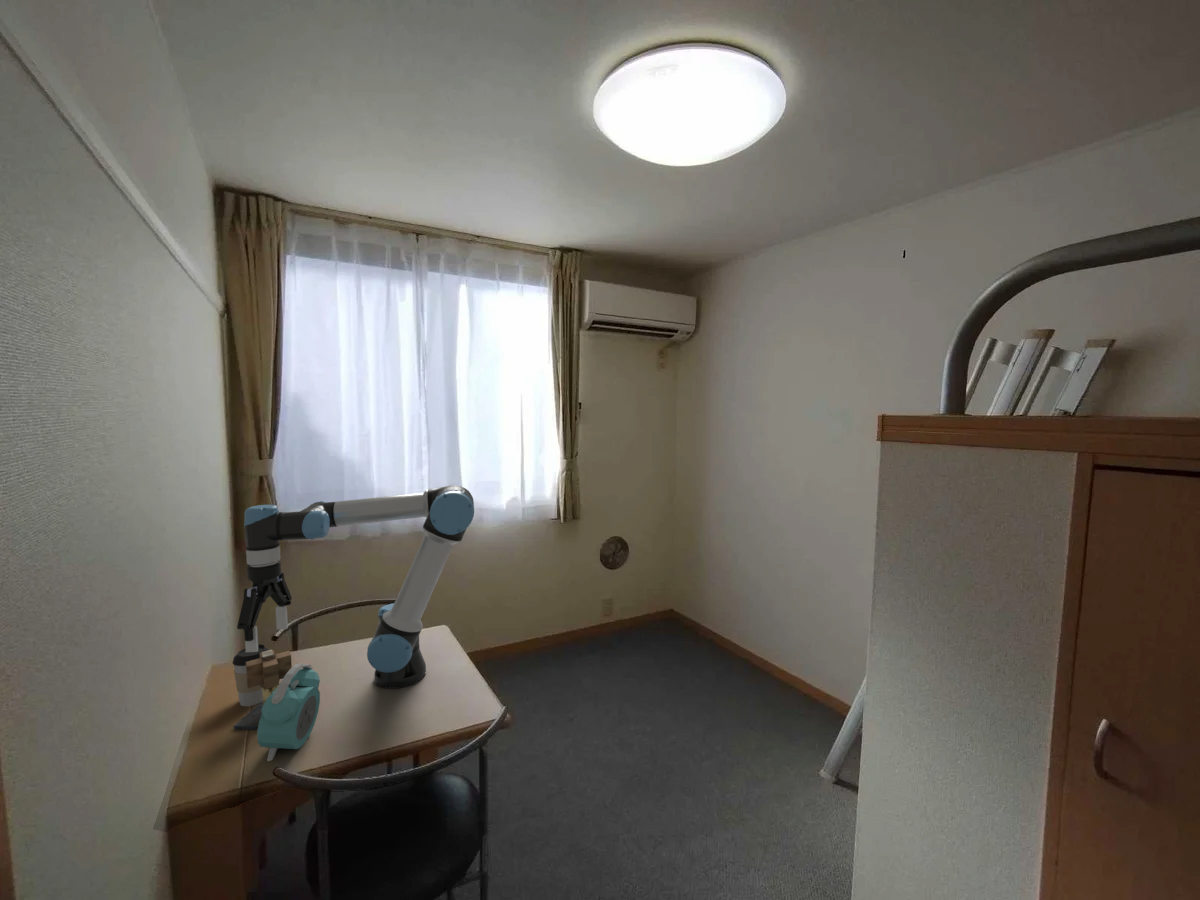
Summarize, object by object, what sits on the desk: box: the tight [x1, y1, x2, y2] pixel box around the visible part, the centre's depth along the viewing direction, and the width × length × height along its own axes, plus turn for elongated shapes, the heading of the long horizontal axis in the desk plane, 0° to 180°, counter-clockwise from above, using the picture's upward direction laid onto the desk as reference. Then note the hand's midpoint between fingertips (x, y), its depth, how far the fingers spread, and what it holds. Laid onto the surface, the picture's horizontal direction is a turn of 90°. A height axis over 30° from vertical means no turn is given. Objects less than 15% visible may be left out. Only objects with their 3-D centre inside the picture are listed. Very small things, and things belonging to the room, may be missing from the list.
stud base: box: [232, 685, 279, 731], centre depth 136 cm, size 12×12×9 cm
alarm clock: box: [256, 663, 321, 762], centre depth 124 cm, size 17×10×20 cm, turn 5°
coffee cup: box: [232, 643, 270, 707], centre depth 143 cm, size 9×9×15 cm
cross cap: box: [246, 649, 293, 689], centre depth 135 cm, size 10×10×7 cm
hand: (267, 639), depth 135 cm, fingers open, 13 cm apart
